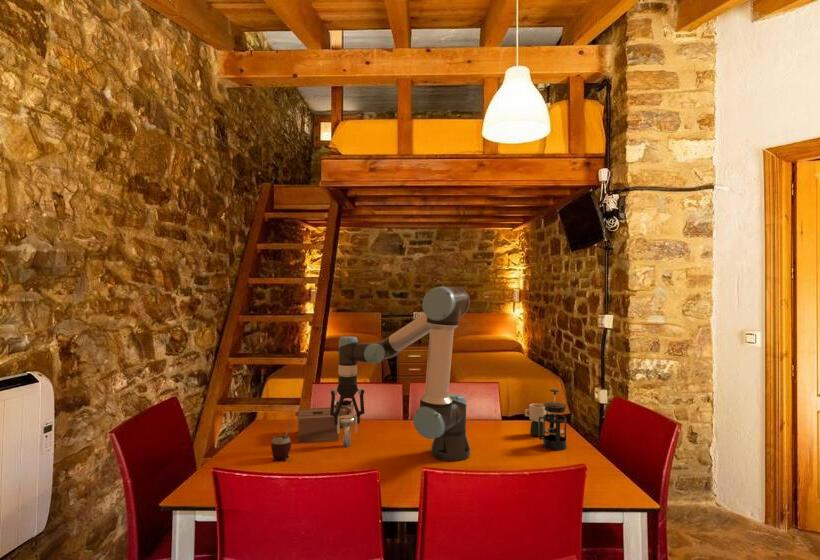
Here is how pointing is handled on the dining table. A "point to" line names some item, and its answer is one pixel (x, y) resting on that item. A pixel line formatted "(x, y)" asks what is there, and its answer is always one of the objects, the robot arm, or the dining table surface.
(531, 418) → the character mug
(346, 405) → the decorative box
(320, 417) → the hitch block
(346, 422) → the steel pin
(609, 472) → the dining table surface
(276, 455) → the mate gourd
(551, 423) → the french press
